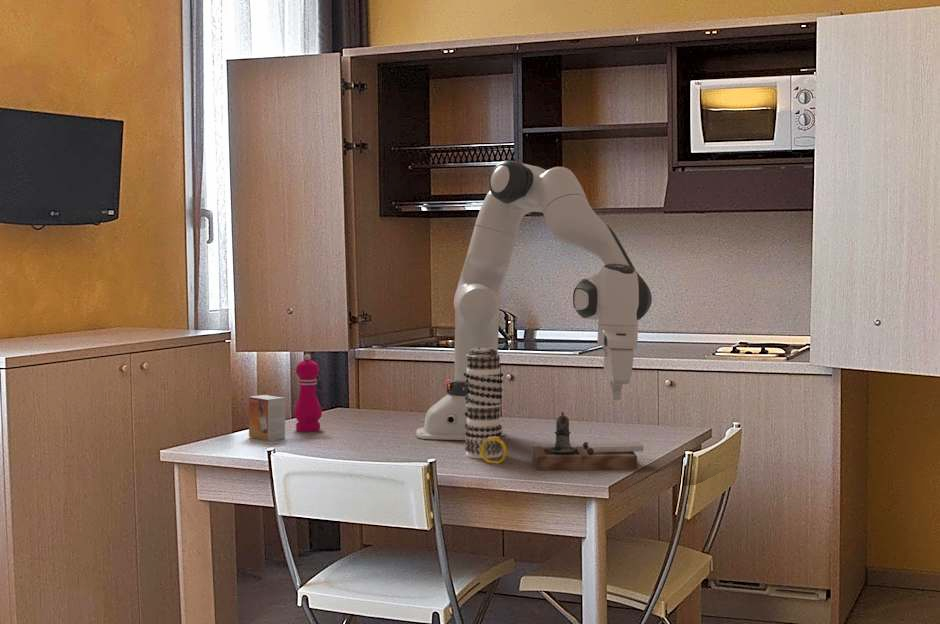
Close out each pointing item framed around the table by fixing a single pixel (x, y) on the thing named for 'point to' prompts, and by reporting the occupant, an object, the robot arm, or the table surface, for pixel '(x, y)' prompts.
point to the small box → (267, 417)
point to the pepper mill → (307, 397)
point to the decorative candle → (483, 402)
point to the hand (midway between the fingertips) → (615, 399)
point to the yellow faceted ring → (496, 438)
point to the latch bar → (615, 447)
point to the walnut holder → (583, 460)
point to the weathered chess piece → (562, 437)
